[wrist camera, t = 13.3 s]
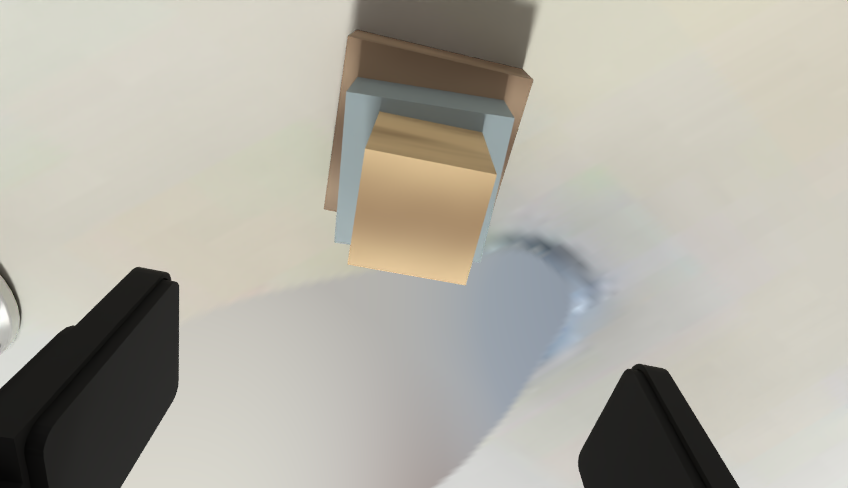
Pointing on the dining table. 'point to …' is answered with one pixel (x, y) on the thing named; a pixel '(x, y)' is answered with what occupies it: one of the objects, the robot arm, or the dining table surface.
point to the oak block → (421, 199)
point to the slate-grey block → (419, 104)
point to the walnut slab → (423, 83)
